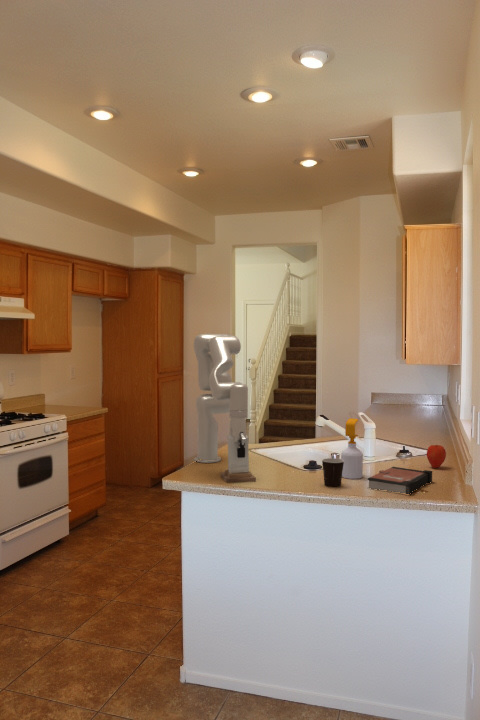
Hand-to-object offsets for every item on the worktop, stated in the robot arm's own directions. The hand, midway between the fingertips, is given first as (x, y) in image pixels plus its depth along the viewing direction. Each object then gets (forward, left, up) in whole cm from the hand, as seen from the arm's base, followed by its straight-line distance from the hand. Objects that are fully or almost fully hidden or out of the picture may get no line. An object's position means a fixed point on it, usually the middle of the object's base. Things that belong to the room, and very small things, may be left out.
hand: (238, 455), depth 246 cm
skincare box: (0, 0, -7) cm, 7 cm away
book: (+24, +61, -10) cm, 66 cm away
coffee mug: (+20, +33, -10) cm, 40 cm away
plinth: (0, 0, -10) cm, 10 cm away
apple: (0, +93, -10) cm, 94 cm away
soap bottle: (+7, +48, -10) cm, 50 cm away
